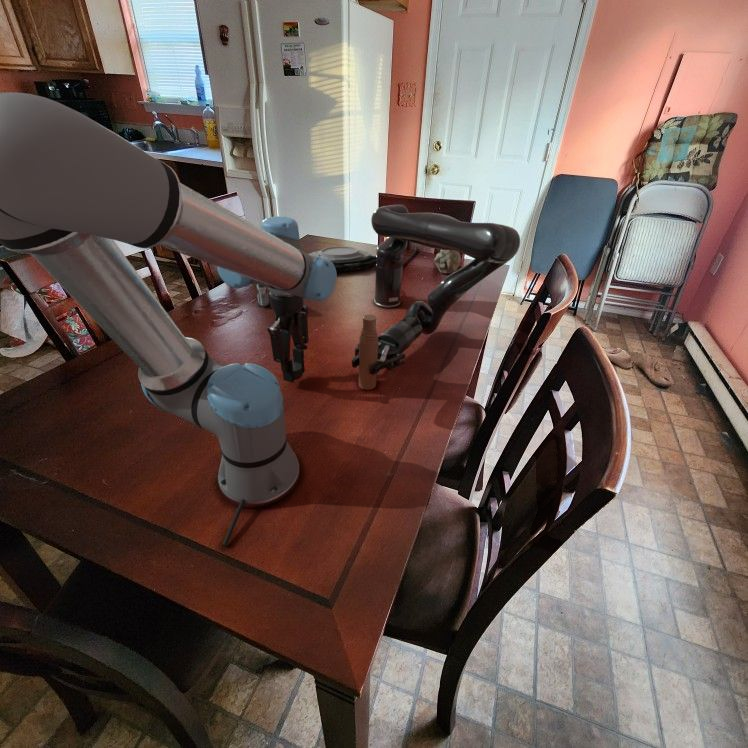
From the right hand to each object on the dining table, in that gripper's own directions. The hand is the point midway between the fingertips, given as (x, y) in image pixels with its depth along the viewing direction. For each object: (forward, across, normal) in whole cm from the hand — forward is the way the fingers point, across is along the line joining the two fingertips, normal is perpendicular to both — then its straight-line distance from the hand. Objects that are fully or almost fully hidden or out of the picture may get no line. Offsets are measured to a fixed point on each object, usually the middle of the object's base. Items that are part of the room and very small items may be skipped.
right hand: (362, 367), depth 102 cm
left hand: (+8, -16, +4) cm, 18 cm away
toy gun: (-22, -56, +7) cm, 60 cm away
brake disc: (-72, -59, +7) cm, 93 cm away
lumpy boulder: (-92, -17, +7) cm, 94 cm away
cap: (+8, -16, +4) cm, 18 cm away
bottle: (-3, 0, +7) cm, 7 cm away
